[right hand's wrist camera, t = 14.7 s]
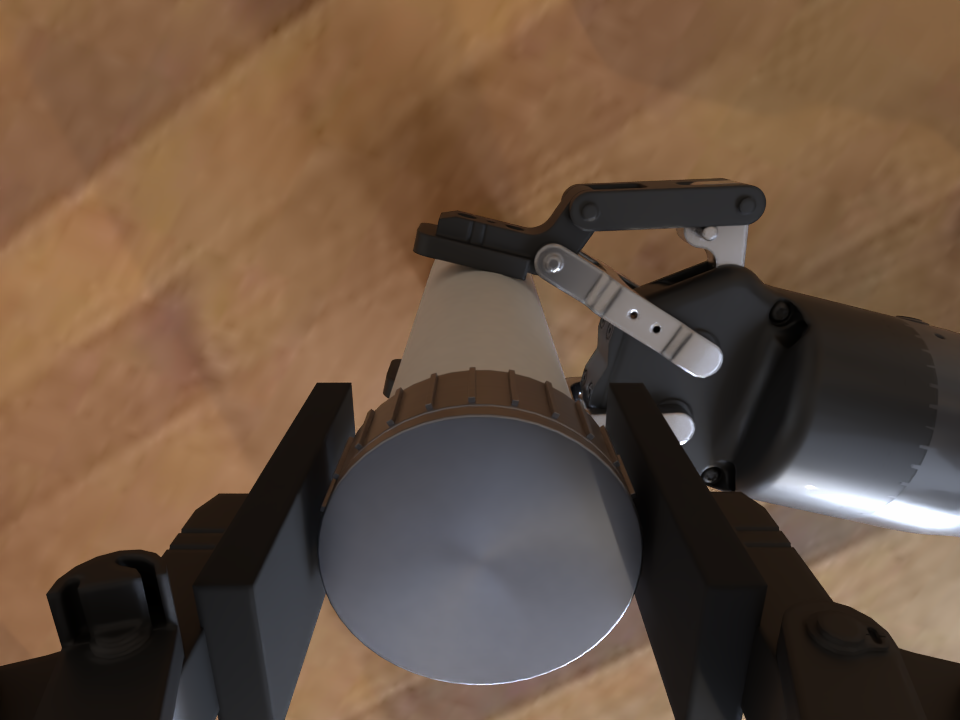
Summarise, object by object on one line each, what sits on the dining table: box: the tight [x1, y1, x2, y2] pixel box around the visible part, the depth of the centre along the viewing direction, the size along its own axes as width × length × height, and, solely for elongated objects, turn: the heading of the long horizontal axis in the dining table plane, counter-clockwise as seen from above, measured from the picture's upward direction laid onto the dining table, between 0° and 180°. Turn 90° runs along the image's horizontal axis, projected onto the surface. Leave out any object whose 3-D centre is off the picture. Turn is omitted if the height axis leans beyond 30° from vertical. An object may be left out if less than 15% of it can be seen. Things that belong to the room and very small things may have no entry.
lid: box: [317, 367, 644, 685], centre depth 11 cm, size 6×6×2 cm
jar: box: [389, 259, 572, 399], centre depth 20 cm, size 4×4×18 cm
